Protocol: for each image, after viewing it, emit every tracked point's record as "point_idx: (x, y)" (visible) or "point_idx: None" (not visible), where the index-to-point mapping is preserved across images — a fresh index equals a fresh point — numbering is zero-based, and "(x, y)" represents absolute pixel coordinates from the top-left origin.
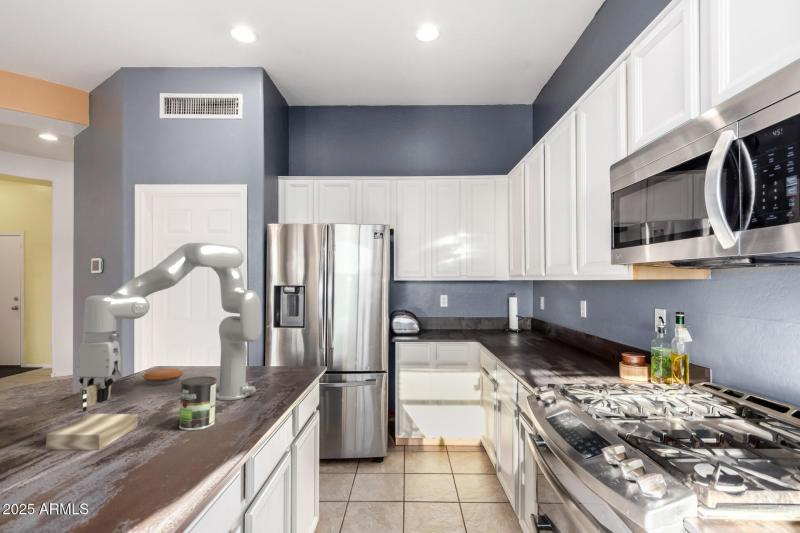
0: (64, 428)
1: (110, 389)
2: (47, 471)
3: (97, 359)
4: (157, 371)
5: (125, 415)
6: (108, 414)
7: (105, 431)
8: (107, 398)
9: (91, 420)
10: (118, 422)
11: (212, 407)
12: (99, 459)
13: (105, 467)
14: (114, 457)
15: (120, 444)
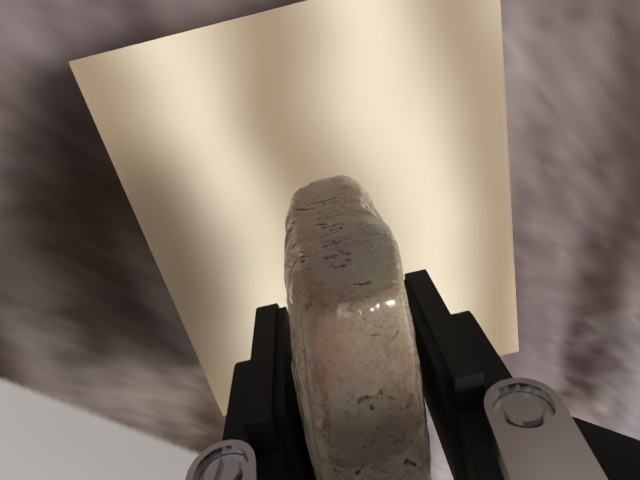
0: (223, 341)
1: (372, 212)
2: (444, 462)
3: None
4: None
5: (406, 15)
6: (232, 37)
7: (513, 309)
8: (427, 276)
9: (242, 193)
10: (478, 172)
11: None
12: (561, 362)
13: (633, 398)
14: (613, 335)
15: (544, 228)
